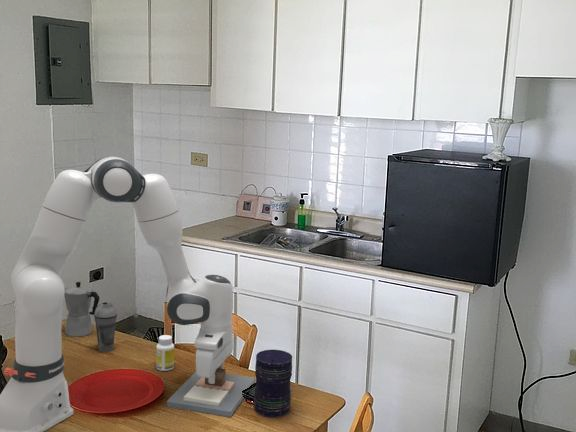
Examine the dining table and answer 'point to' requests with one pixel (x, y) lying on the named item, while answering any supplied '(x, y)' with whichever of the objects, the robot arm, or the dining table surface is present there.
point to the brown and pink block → (217, 381)
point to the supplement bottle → (165, 353)
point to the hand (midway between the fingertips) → (215, 379)
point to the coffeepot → (79, 310)
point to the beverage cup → (105, 325)
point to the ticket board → (210, 396)
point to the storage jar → (273, 383)
